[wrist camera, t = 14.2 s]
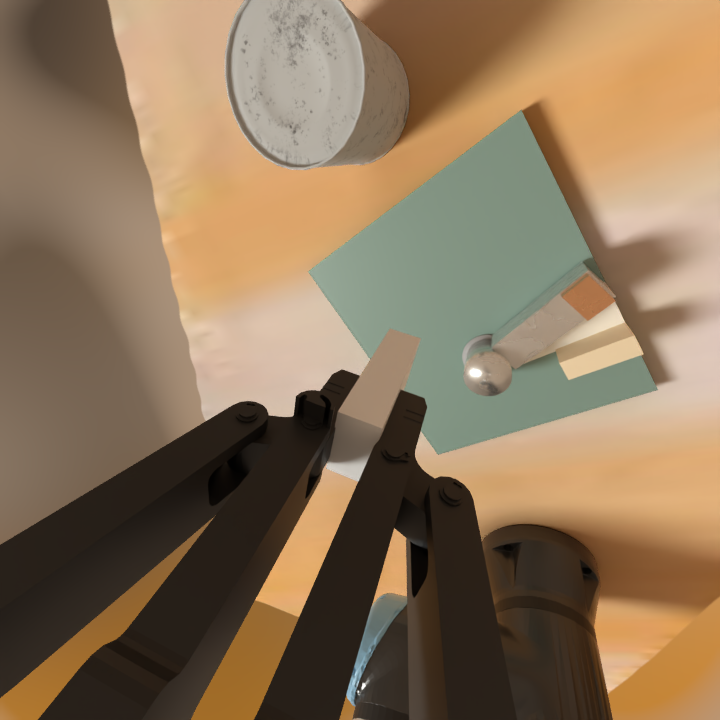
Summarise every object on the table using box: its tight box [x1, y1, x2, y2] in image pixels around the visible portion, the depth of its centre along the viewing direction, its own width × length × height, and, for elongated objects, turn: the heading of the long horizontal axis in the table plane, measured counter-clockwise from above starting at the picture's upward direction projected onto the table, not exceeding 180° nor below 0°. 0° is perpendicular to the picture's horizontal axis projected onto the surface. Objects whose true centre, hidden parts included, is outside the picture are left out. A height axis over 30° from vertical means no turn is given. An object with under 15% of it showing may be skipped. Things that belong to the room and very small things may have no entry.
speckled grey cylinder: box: [225, 0, 410, 170], centre depth 27 cm, size 10×10×12 cm
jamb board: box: [308, 110, 658, 455], centre depth 37 cm, size 28×24×4 cm
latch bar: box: [463, 262, 616, 396], centre depth 34 cm, size 14×4×4 cm, turn 144°
